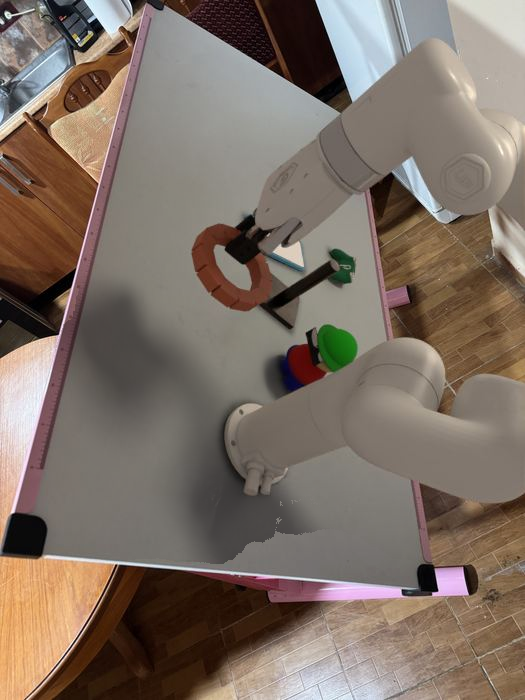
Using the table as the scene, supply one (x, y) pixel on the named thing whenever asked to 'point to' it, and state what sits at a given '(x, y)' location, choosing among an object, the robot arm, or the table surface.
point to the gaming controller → (344, 266)
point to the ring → (216, 279)
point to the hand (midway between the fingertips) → (236, 248)
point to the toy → (318, 356)
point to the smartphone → (289, 255)
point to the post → (295, 293)
